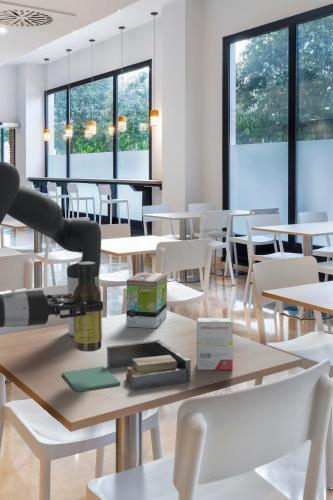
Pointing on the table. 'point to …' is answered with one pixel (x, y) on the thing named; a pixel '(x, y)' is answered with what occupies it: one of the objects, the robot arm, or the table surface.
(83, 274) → the sauce bottle
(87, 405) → the table surface
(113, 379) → the green rubber mat
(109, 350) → the grey three-sided tray
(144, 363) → the offcut stack
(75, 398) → the table surface
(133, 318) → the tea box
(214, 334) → the ink box
